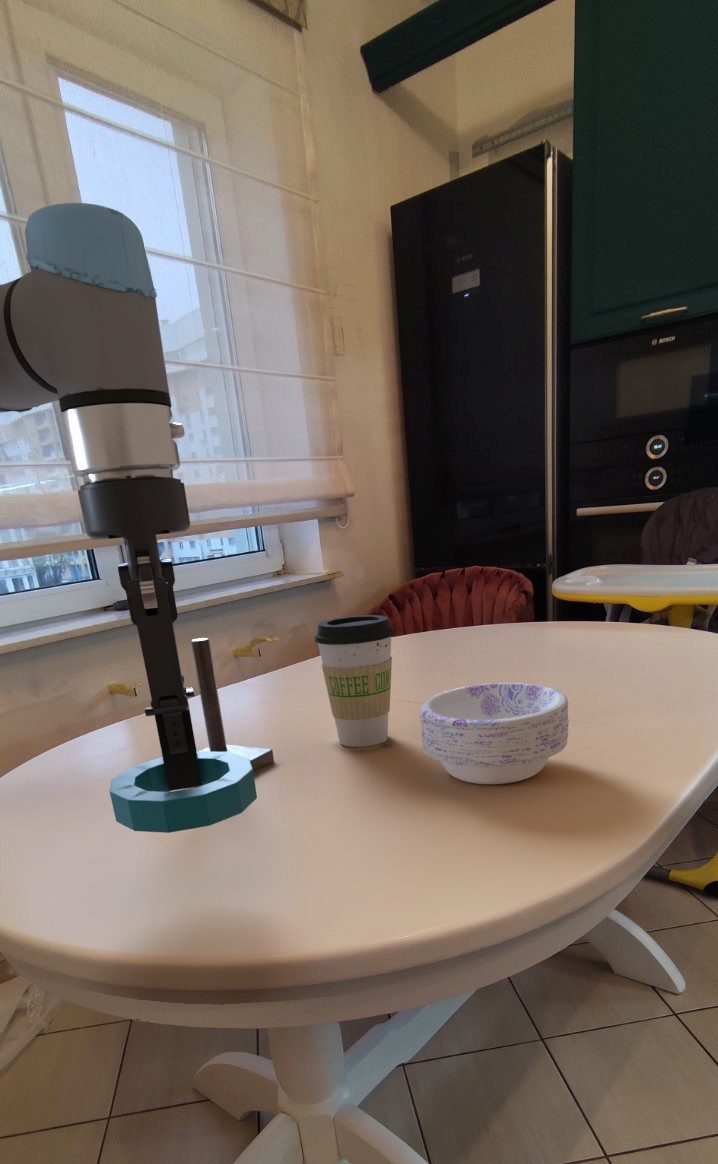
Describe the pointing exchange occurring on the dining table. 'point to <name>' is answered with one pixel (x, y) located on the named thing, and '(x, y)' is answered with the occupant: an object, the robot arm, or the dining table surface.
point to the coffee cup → (357, 676)
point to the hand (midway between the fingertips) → (185, 780)
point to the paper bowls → (495, 730)
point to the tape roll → (183, 794)
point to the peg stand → (213, 711)
